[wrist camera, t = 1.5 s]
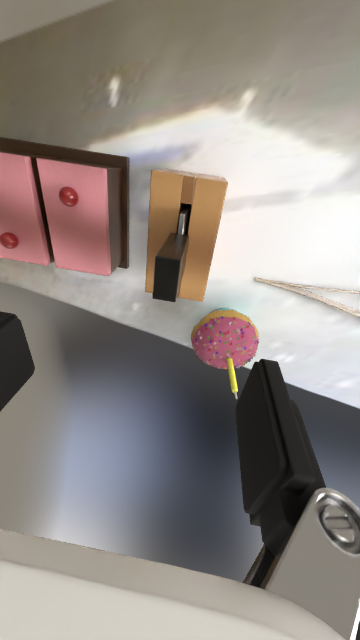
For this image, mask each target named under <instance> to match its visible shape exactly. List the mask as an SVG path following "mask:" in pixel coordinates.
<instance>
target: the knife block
mask: <svg viewBox="0 0 360 640" xmlns="http://www.w3.org/2000/svg"><path fill="white" fill-rule="evenodd" d="M227 185H228V182H227V181H226V179H225V178H222V177H215V176H209V175H202V174H196V173H189V172H183V171H177V170H170V169H159V170H151V186H150V207H149V228H148V248H147V269H146V289H145V292H148V293H153V283H154V268H155V256H156V255H157V253H158V252H159V250H160V249H161V247H162V245H163V244H164V242H165V241H166V239H167V238H168V236H169V235H170V233H176V234H178V227H179V218H180V214H181V212H182V211H183V209H184V208H185V206H186V205H187V204H192V207H191V215H190V222H189V229H188V236H189V243H188V250H187V257H186V264H185V270H184V274H183V277H182V281H181V284H180V288H179V291H178V295H177V297H179V298H184V299H189V300H195V301H201V302H203V299H204V295H205V290H206V285H207V280H208V276H209V271H210V266H211V261H212V257H213V252H214V247H215V242H216V238H217V233H218V228H219V223H220V219H221V214H222V209H223V204H224V200H225V195H226V190H227Z"/></svg>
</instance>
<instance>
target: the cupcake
mask: <svg viewBox="0 0 360 640" xmlns="http://www.w3.org/2000/svg"><path fill="white" fill-rule="evenodd" d="M191 341H192V347H193V350H194V351H195V353H196V354H197V357H199V358H200V359H201V360H202V361H204V363H206V364H208V365H211V366H212V367H213V366H214V367H216V368H218V369H220V368H224V369H225V368H226V369H227V368H228V370H229V376H230V383H231V389H232V392H233V393H234V394H235V398H236V399H237V394H236V392H238V389H237V383H236V378H235V372H234V368H236V367H237V368H238V367H239V366H241V365H242V366H243V364H244V363H245V364H246V363H247V362H250V361H251V360H250V359H252V357H253V356H255V353H256V350H257V346H258V343H259V342H258V331H257V329H256V327H255V325H254V324H253V323H252V321H251V320H250V318H249V317H247V316H245V315H243V314H241V313H239V312H237V311H235V310H232V309H229V308H221V309H218V310H216V311H214V312H211V313H209V314H208V315H207V316H205V317H204V318H203V319H202V320H201V321H200V322H199V323H198V324H197V325H196V326H195V327H194V329H193V332H192V335H191ZM245 364H244V365H245Z"/></svg>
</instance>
